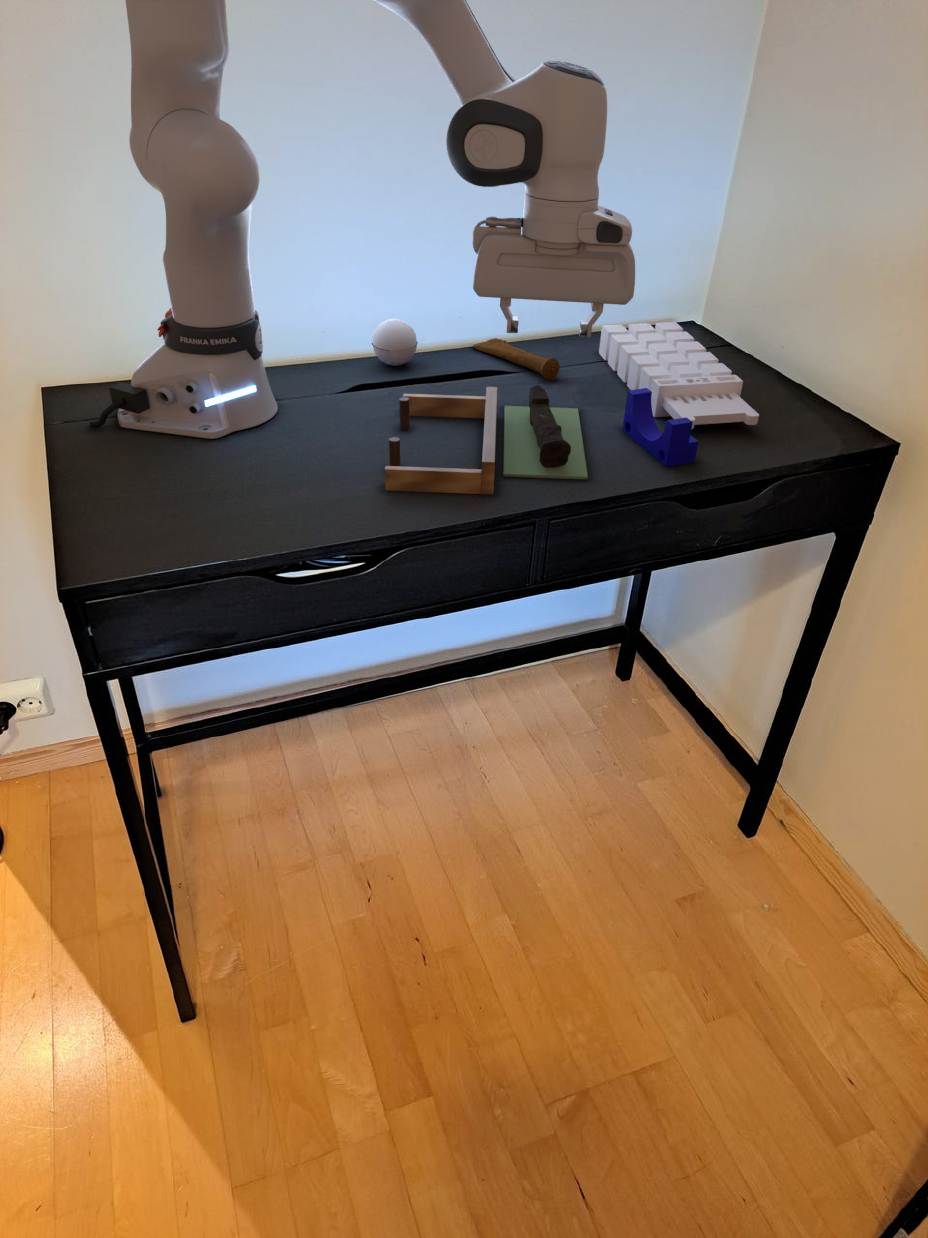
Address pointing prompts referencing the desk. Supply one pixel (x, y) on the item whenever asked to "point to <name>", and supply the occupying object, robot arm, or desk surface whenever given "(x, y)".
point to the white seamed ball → (394, 342)
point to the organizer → (675, 373)
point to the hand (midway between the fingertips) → (548, 333)
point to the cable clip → (658, 431)
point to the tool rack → (445, 477)
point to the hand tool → (547, 430)
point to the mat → (525, 449)
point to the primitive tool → (521, 357)
